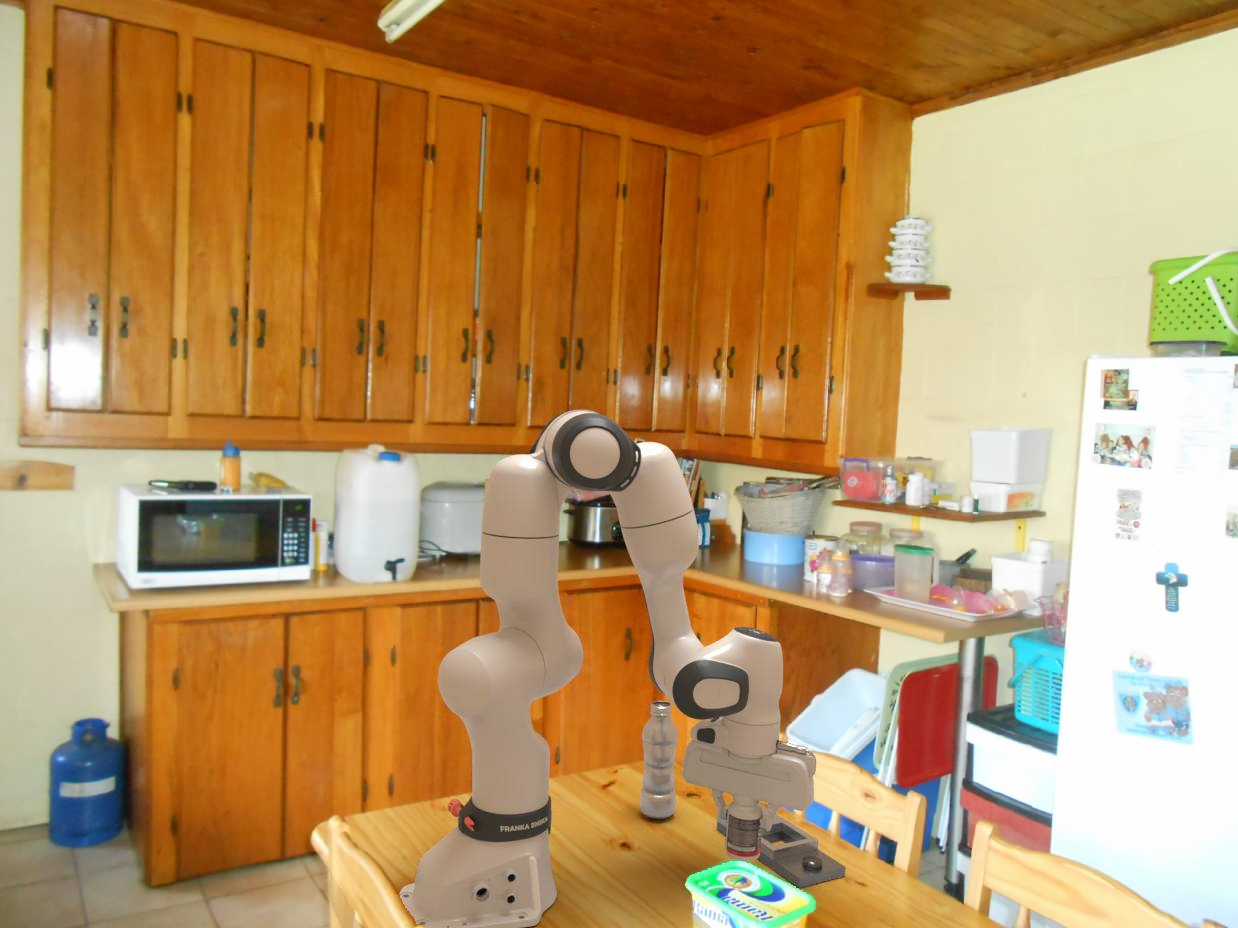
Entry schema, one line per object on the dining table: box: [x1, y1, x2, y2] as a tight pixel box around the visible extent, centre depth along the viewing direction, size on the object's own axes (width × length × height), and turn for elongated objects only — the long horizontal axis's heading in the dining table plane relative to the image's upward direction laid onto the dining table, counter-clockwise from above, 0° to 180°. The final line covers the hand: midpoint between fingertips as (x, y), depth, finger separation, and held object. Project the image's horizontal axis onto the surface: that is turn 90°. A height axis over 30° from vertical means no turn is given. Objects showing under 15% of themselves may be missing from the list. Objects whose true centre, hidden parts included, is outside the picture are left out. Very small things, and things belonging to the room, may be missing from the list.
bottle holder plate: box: [716, 803, 846, 889], centre depth 152 cm, size 9×22×4 cm, turn 28°
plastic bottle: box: [639, 700, 679, 820], centre depth 164 cm, size 6×7×20 cm
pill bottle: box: [724, 794, 763, 862], centre depth 143 cm, size 5×5×10 cm
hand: (744, 823), depth 143 cm, fingers closed on pill bottle, 5 cm apart
